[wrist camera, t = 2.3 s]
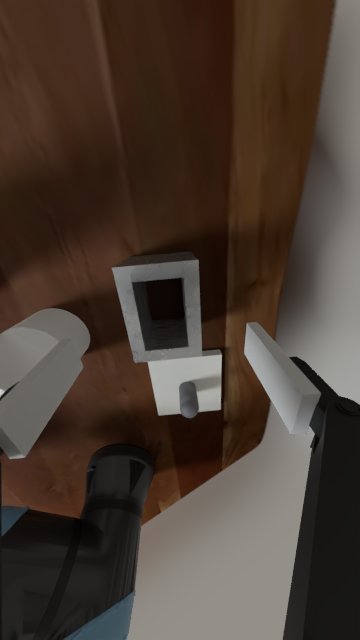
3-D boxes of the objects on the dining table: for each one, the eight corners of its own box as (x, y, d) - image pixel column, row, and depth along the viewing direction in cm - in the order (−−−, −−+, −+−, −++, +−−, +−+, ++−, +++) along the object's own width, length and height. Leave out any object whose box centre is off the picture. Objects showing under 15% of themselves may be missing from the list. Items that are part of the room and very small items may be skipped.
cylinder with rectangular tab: (102, 335, 29) (61, 397, 18) (69, 367, 32) (15, 437, 21) (49, 295, 26) (-37, 341, 15) (17, 334, 28) (-77, 397, 18)
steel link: (194, 325, 29) (202, 356, 22) (143, 330, 29) (134, 362, 22) (190, 251, 24) (198, 259, 17) (129, 256, 24) (111, 267, 17)
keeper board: (218, 403, 37) (228, 438, 30) (158, 408, 37) (156, 445, 30) (219, 349, 31) (231, 379, 25) (148, 355, 31) (143, 387, 25)
